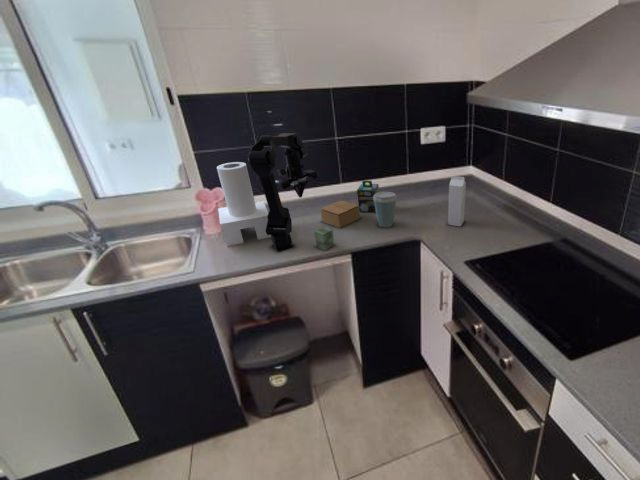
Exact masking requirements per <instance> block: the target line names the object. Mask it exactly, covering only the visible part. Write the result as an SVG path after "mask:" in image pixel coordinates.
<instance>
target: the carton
mask: <svg viewBox="0 0 640 480" xmlns="http://www.w3.org/2000/svg"><path fill="white" fill-rule="evenodd" d="M330 205H334V206H337V207H340V208H343V209H346V210H349V211H347V212H344V213H342V214H339V215H337V214H334V213H331V212H328V211H325V210H322V209H320V215H321V221H322V223H325V224H328V225H330V226H333V227H336V228H338V229H341V228H343V227H345V226H347V225H349V224H351V223H353V222H356V221H358V220H360V219H361V216H360V215H361V214H360V212H359V205H358V204H354V203H351V202H348V201H345V200H338V201H336V202H333V203H331V204H330Z"/></svg>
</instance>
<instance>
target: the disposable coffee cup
mask: <svg viewBox="0 0 640 480" xmlns="http://www.w3.org/2000/svg"><path fill="white" fill-rule="evenodd" d="M397 199H398V195H396V193H395V192H391V191H379V193H376V194H375V195H374V196H373V200H374V205H375V210H376V212H375V215H376V221H377V224H378V226H379V227H380V228H390V227H392V226H393V224H394V218H395V210H396V203H397Z"/></svg>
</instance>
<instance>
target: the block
mask: <svg viewBox="0 0 640 480" xmlns="http://www.w3.org/2000/svg"><path fill="white" fill-rule="evenodd" d="M314 238H315V243H316V244H315V245H316V248H319V249H321V250H324V251H326V250H328V249H330V248H333V247H334V246H335V239H334V232H333V229H330V228H328V227H325V226H324V227H321V228H319V229H317V230H314Z"/></svg>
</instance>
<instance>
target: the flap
mask: <svg viewBox="0 0 640 480" xmlns="http://www.w3.org/2000/svg"><path fill="white" fill-rule="evenodd" d="M320 210H325V211H328V212H331V213H334V214H337V215H339V214H342V213H344V212H347V211H349V210H346V209H343V208H340V207H337V206H334V205H331V204H329V205H326V206H323V207H321V208H320Z"/></svg>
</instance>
